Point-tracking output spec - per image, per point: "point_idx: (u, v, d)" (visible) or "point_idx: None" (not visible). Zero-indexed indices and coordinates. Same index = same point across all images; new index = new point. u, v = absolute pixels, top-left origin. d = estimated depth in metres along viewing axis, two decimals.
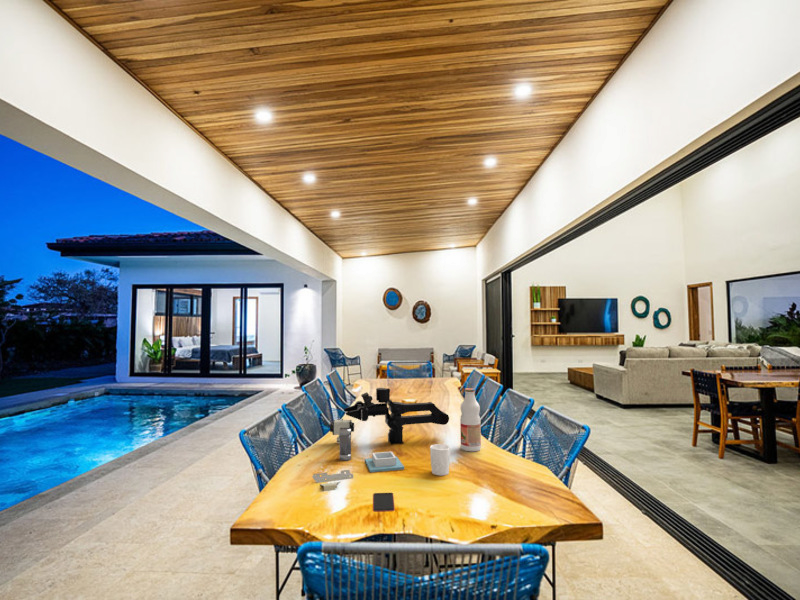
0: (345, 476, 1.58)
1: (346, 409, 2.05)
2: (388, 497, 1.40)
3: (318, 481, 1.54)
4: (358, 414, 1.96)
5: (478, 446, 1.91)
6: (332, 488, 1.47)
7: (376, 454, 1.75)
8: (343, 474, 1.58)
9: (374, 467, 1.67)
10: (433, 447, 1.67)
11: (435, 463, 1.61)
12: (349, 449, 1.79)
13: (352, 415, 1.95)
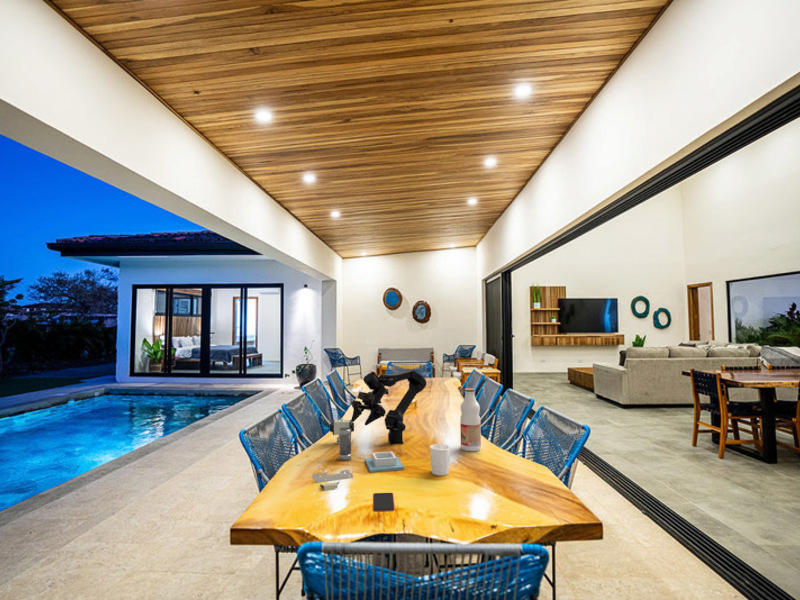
0: (345, 476, 1.58)
1: (353, 419, 1.91)
2: (388, 497, 1.40)
3: (318, 481, 1.54)
4: (374, 415, 1.87)
5: (478, 446, 1.91)
6: (332, 488, 1.47)
7: (376, 454, 1.75)
8: (343, 474, 1.58)
9: (374, 467, 1.67)
10: (433, 447, 1.67)
11: (435, 463, 1.61)
12: (349, 449, 1.79)
13: (371, 420, 1.86)
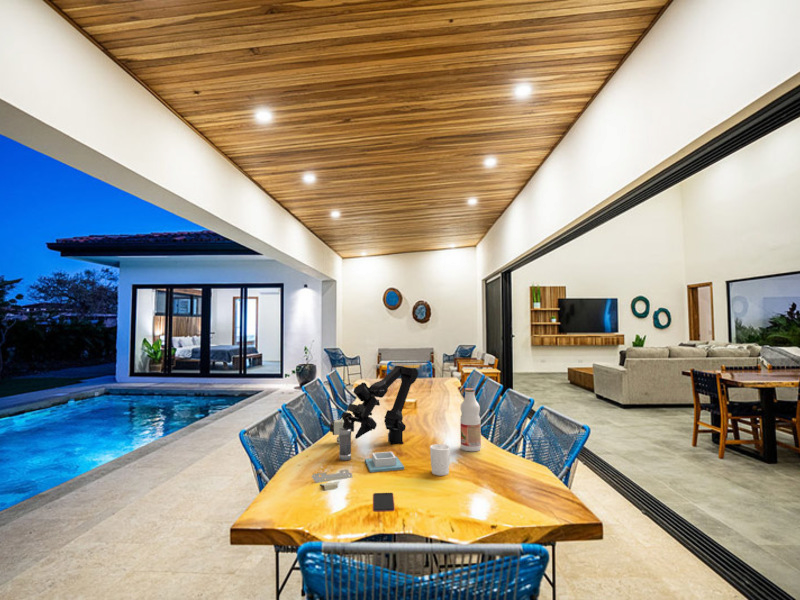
0: (344, 475, 1.58)
1: None
2: (388, 497, 1.40)
3: (318, 481, 1.54)
4: (365, 428, 1.82)
5: (478, 446, 1.91)
6: (333, 488, 1.48)
7: (376, 454, 1.75)
8: (342, 473, 1.58)
9: (374, 467, 1.67)
10: (433, 447, 1.67)
11: (435, 463, 1.61)
12: (349, 449, 1.79)
13: (361, 433, 1.81)
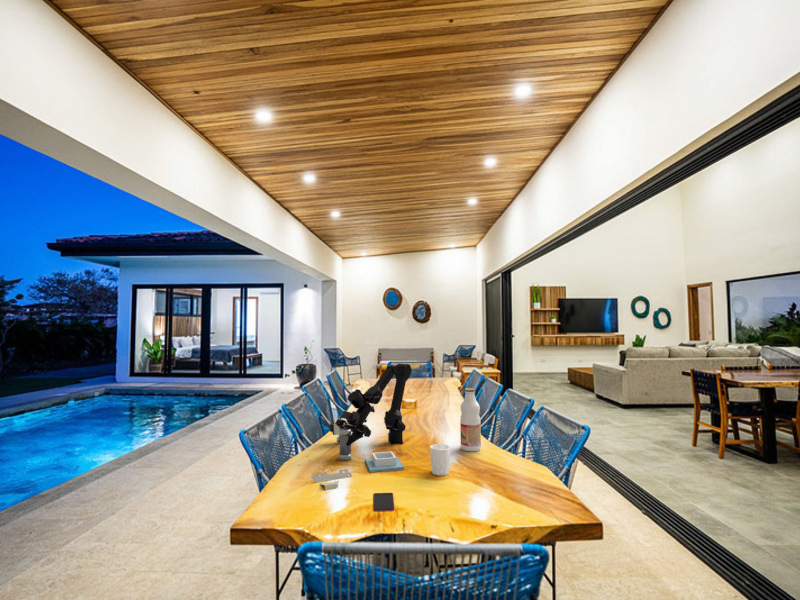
0: (344, 475, 1.59)
1: None
2: (388, 497, 1.40)
3: (317, 481, 1.54)
4: (356, 435, 1.81)
5: (478, 446, 1.91)
6: (333, 487, 1.48)
7: (376, 454, 1.75)
8: (342, 473, 1.59)
9: (374, 467, 1.67)
10: (433, 447, 1.67)
11: (435, 463, 1.61)
12: (349, 449, 1.79)
13: (353, 441, 1.80)
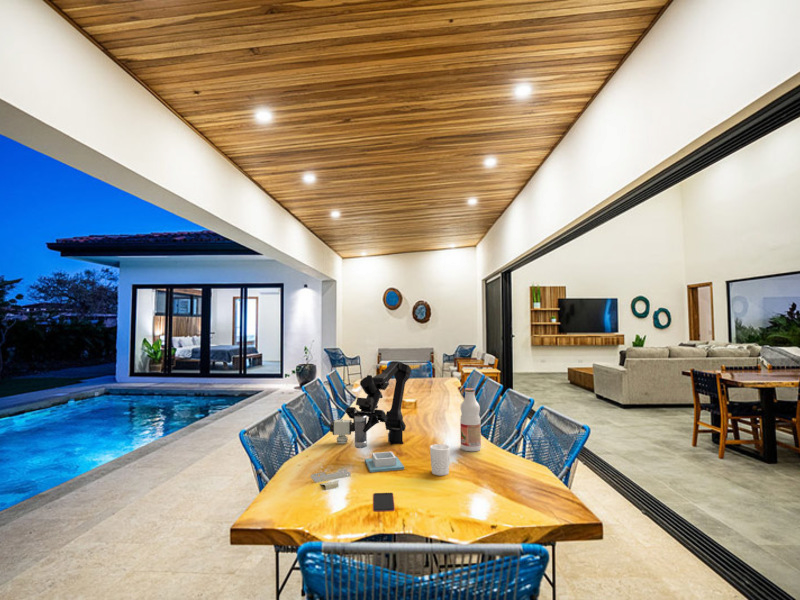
0: (343, 475, 1.59)
1: None
2: (388, 497, 1.40)
3: (317, 481, 1.54)
4: (372, 421, 1.78)
5: (478, 446, 1.91)
6: (334, 487, 1.48)
7: (376, 454, 1.75)
8: (341, 473, 1.59)
9: (374, 467, 1.67)
10: (433, 447, 1.67)
11: (435, 463, 1.61)
12: (366, 436, 1.76)
13: (369, 427, 1.76)
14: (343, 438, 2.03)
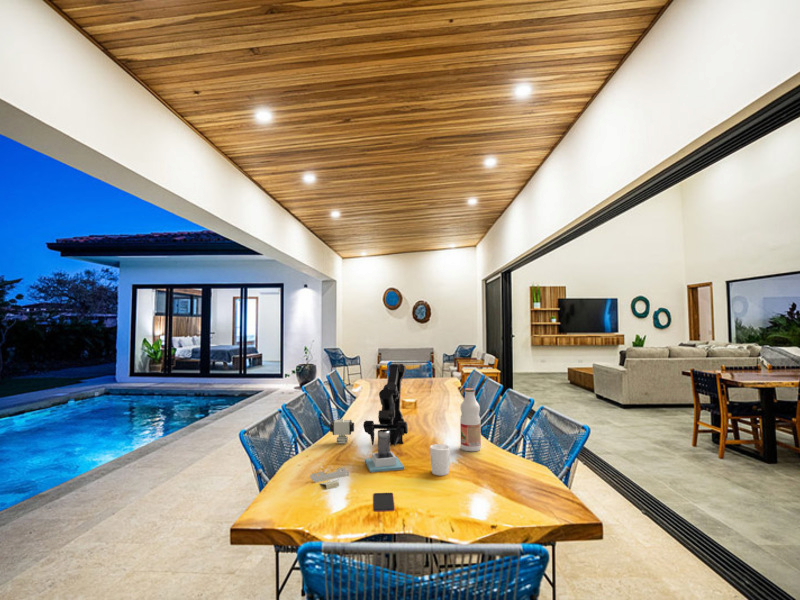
0: (341, 474, 1.60)
1: (373, 441, 1.73)
2: (388, 497, 1.40)
3: (316, 481, 1.54)
4: (398, 433, 1.75)
5: (478, 446, 1.91)
6: (334, 486, 1.49)
7: (376, 454, 1.75)
8: (339, 472, 1.60)
9: (374, 467, 1.67)
10: (433, 447, 1.67)
11: (435, 463, 1.61)
12: (389, 451, 1.73)
13: (397, 440, 1.73)
14: (343, 438, 2.03)
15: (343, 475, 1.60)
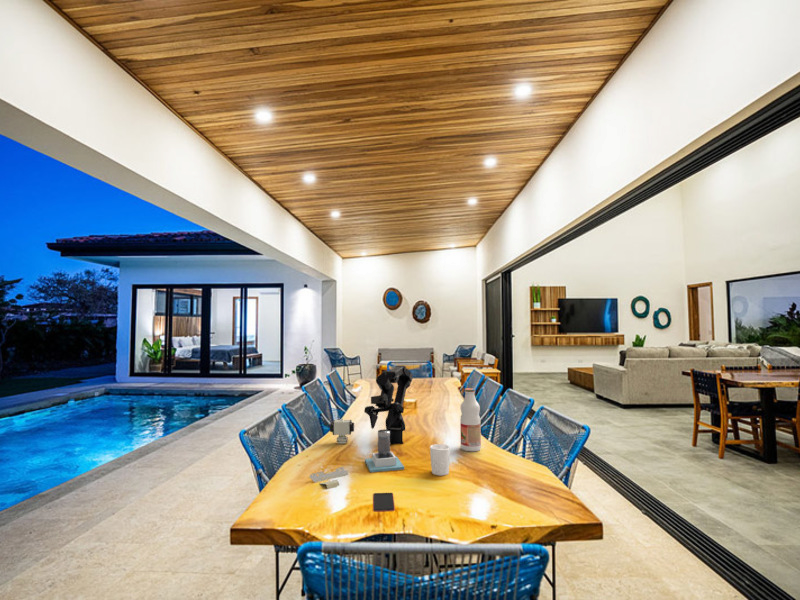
0: (340, 473, 1.60)
1: (373, 425, 1.86)
2: (388, 497, 1.40)
3: (316, 481, 1.55)
4: (394, 414, 1.84)
5: (478, 446, 1.91)
6: (334, 485, 1.49)
7: (376, 454, 1.75)
8: (338, 472, 1.60)
9: (374, 467, 1.67)
10: (433, 447, 1.67)
11: (435, 463, 1.61)
12: (389, 451, 1.73)
13: (393, 420, 1.83)
14: (343, 438, 2.03)
15: (342, 475, 1.60)
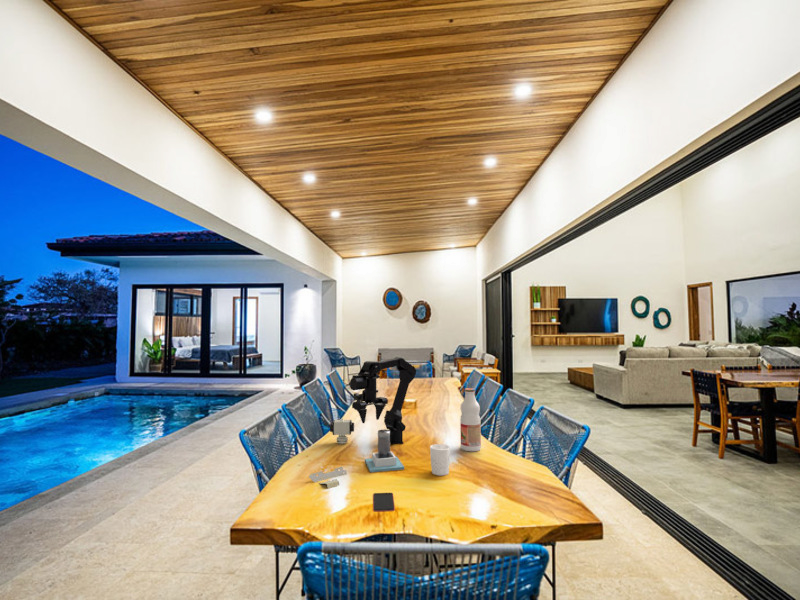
0: (339, 473, 1.61)
1: (376, 417, 1.98)
2: (388, 497, 1.40)
3: (315, 480, 1.55)
4: (362, 410, 1.91)
5: (478, 446, 1.91)
6: (335, 485, 1.50)
7: (376, 454, 1.75)
8: (337, 471, 1.61)
9: (374, 467, 1.67)
10: (433, 447, 1.67)
11: (435, 463, 1.61)
12: (389, 451, 1.73)
13: (362, 417, 1.90)
14: (343, 438, 2.03)
15: (341, 474, 1.61)
